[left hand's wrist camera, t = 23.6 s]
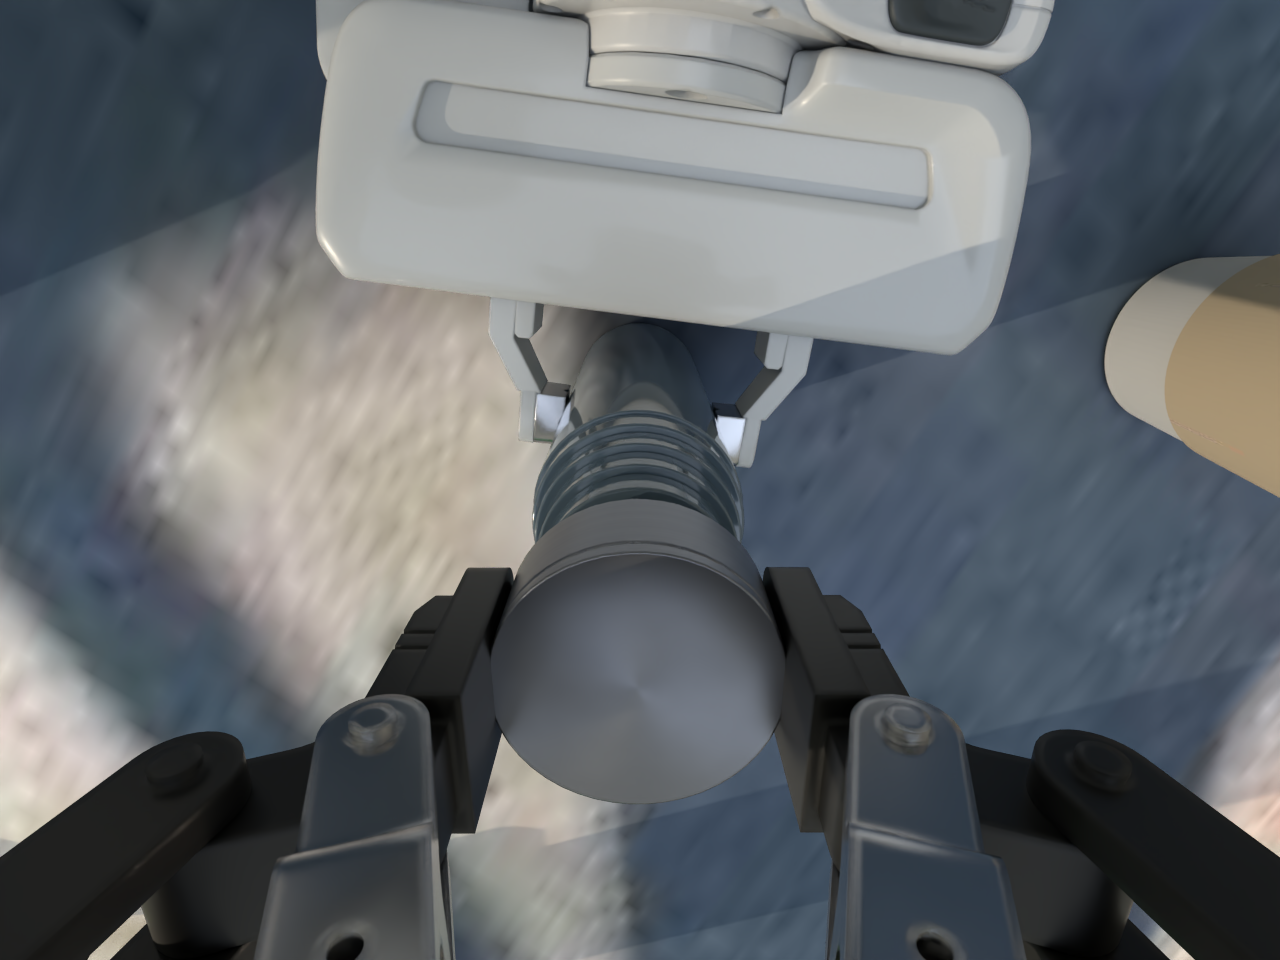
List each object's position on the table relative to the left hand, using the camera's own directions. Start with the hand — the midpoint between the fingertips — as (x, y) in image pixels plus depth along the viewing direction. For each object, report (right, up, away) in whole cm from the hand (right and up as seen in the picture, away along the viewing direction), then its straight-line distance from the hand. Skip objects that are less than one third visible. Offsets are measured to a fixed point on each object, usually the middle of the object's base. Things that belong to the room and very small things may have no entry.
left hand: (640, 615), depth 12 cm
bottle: (0, +7, +18) cm, 19 cm away
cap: (0, -1, -2) cm, 2 cm away
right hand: (0, +3, +12) cm, 12 cm away
